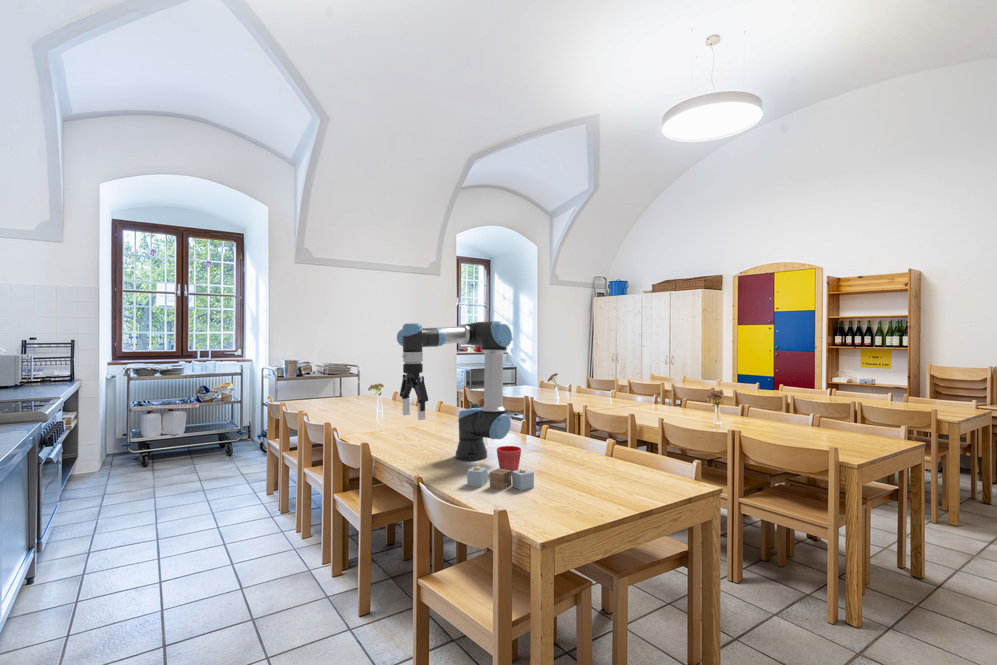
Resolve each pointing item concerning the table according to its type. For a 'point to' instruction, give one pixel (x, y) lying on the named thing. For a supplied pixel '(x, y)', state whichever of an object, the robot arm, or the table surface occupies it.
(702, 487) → the table surface
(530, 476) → the stud block
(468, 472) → the stud block
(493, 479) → the walnut block
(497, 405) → the robot arm
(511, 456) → the flower pot
